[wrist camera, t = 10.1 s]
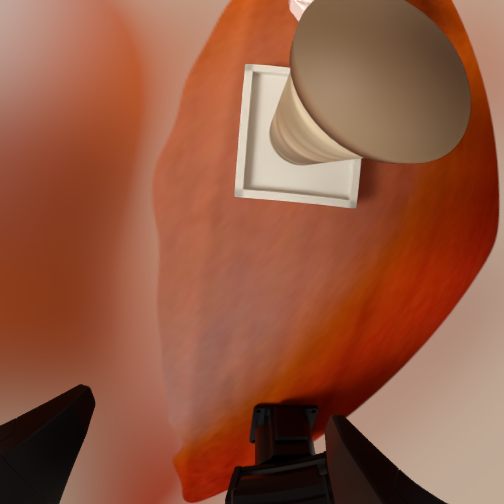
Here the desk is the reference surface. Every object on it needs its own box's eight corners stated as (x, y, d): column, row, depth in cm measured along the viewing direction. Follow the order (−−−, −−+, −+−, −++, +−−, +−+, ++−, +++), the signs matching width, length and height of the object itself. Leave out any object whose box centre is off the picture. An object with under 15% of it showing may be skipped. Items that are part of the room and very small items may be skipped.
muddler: (342, 161, 17) (487, 153, 5) (276, 175, 18) (331, 180, 5) (324, 96, 16) (431, -2, 4) (258, 109, 16) (268, -10, 4)
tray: (347, 205, 19) (355, 208, 18) (236, 194, 19) (234, 196, 17) (355, 88, 17) (364, 81, 15) (246, 73, 17) (245, 64, 15)
